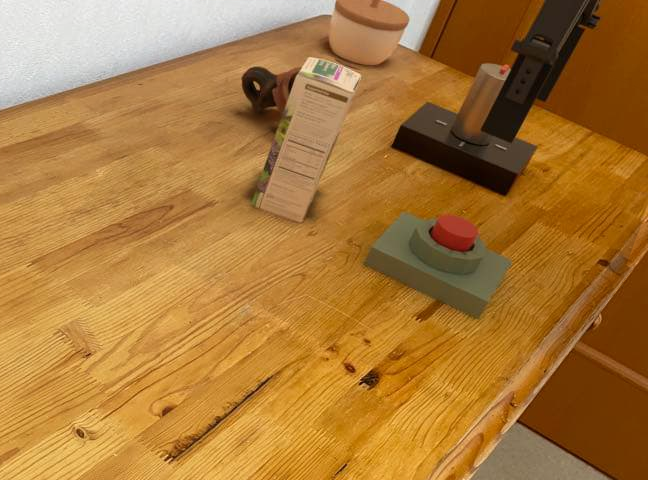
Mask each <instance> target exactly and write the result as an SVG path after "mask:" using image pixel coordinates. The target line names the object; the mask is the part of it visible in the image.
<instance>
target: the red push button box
mask: <svg viewBox="0 0 648 480" xmlns="http://www.w3.org/2000/svg"><path fill="white" fill-rule="evenodd" d="M437 220H438V218H430V219H422V218H420V217H418V216H416V215H414V214H411V213H409V212H407V211H405V210H404V211H402V212H401V214H399V216H398V217H397V218H396V219H395V220H394V221H393V222H392V223H391V224H390V226H388V228H387V229H386V230H385V231H384V232H383V233H382V234H381V235H380V237H379V238H377V240H376V241H374V243H373V244H372V245H371V246H370V248H369V250H368V252H367V255H366V257H365V259H364V262H363V265H364V266H366V267H369V268H370V269H372V270H375V271H376V272H379V273H380V274H383V275H385V276H387V277H389V278H391V279H392V280H395V281H397V282H399V283H401V284H403V285H405V286H408V287H410V288H412V289H413V290H416V291H418V292H420V293H422V294H424V295H426V296H428V297H430V298H432V299H434V300H436V301H439V302H440V303H442V304H444V305H447V306H449V307H451V308H452V309H455V310H457V311H459V312H461V313H463V314H465V315H468V316H470V317H472V318H473V319H476V320H479V319H480V317H481V315H482V314H483V312H484V310H485V309H486V307H487V305H488V304H489V302H490V300H491V299H492V297H493V295H494V293H495V292H496V291H497V289H498V287H499V285H500V284H501V282H502V281H503V279H504V277H505V275H506V274H507V272H508V270H509V269H510V267H511V265H512V264H513V262H514V260H513V259H510V258H509V257H505V256H503V255H501V254H499V253H497V252H495V251H493V250H490V249H488V248H487V246H486V244H485V242H484V240H483V239H482V238H481V237H479V235H477V237H476V239H475V241H474V243H473V244H472V246H471V248H470V250H469V251H467V252H458V251H453V250H450V249H448V248H446V247H443V246H441V245H439V244H438V243H437V242H435V241H434V240H433V239H432V238H431V236H430V234H431V232H432V230H433V228H434V226H435V224H436V222H437Z"/></svg>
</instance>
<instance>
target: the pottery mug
mask: <svg viewBox="0 0 648 480" xmlns="http://www.w3.org/2000/svg"><path fill="white" fill-rule="evenodd" d="M302 67H303V66H297V67H293V68H292V69H290V70H288V71H284V72H282V73H279V74H274V73H273V72H271V71H269V69H267V68H265V67H263V66H252V67H249V68H248V69H247V70H246V71H245V72H244V73H243V74H242V76H241V88H242V92H243V94H244V96H245V97H246V99H247V100H248V101H249V102H250V104H251V106H252V111H253V112H254V113H258V112H263V111H264V110H265V109H268V108H274V107H276V108H277V110H278V113H279V114H280V116H281V117H282V115H283V112H284V109H285V106H286V104H287V101H288V98H289V95H290V92H291V89H292V86H293V84H294V81H295V78H296V76H297V75H298V73H299V71H300V70H301V68H302ZM255 83H256V84H258V86H259V89H257V87H256V85H255ZM276 132H277V129H276V130H275V135H276ZM275 135H274V136H275Z"/></svg>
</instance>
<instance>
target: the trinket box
mask: <svg viewBox="0 0 648 480" xmlns="http://www.w3.org/2000/svg"><path fill="white" fill-rule="evenodd" d="M409 22H410V16H409V14H408V13H407V12H406V11H405V10H403V9H402V8H400V7H398V6H397V5H395V4H393V3H390V2H388V1H385V0H336V1H335V4H334V9H333V11H332V15H331V18H330V22H329V25H328V43H329V47H330V50H331V51H332V52H333V53H334V54H335V55H336V56H338V57H339V58H341V59H344V60H345V61H348V62H351V63H355V64H359V65H363V66H379V65H380V64H382V63H383V62H385V61H386V60H387V59H388V58H389V57H390V56H391V55H392V54H393V53H394V52H395V50H396V48H397V47H398V45H399V43H400V41H401V39H402V37H403V35H404V33H405V30H406V28H407V27H408V25H409ZM334 60H335V61H336V62H337V63H339V64H340V65H341V66H344V67H346V68H349V69H353V70H358V71H361V69H360V68H358V67H355V66H353V65H351V64H348V63H345V62H343V61H341V60H338V59H335V58H334Z"/></svg>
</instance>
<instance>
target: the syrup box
mask: <svg viewBox="0 0 648 480" xmlns="http://www.w3.org/2000/svg"><path fill="white" fill-rule="evenodd" d="M301 67H302V68H301V70H300V71H299V73H298V75H297V76H296V78H295V81H294V84H293V86H292V89H291V92H290V95H289V98H288V101H287V104H286V106H285V109H284V112H283V115H282V116H281V117H280V120H279V124H278V126H277V128H276V130H277V132H276V131H275V133H276V135H274V138H273V141H272V143H271V146H270V149H269V152H268V155H267V158H266V160H265V163H264V166H263V169H262V172H261V175H260V177H259V181H258V183H257V186H256V189H255V192H254V195H253V197H252V201H251V203H250V205H251V207H252V208H254V209H257V210H260V211H264V212H266V213H269V214H272V215H274V216H277V217H280V218H284V219H287V220H290V221H292V222H296V223H298V224H303V222H304V219H305V217H306V215H307V213H308V210H309V208H310V206H311V204H312V202H313V199H314V197H315V194H316V192H317V189H318V187H319V185H320V182H321V180H322V178H323V175H324V172H325V170H326V167H327V164H328V163H329V160H330V157H331V155H332V153H333V150H334V148H335V145H336V143H337V140H338V138H339V135H340V132H341V131H342V127H343V125H344V123H345V120H346V117H347V115H348V112H349V110H350V108H351V105H352V103H353V100H354V98H355V96H356V95H355V94H356V92H357V89H358V87H359V85H360V82H361V79H362V77H363V76H362V75H361V74H360V73H359V72H356V71H355V70H354V69H353V70H352V69H351V68H349V67H347V66H345V65H342V64H338V63H335V62H333V61H330V60H326V59H323V58H318V57H311V56H308V57H307V58H306V61H305V62H304V63H303V65H302V66H301Z"/></svg>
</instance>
